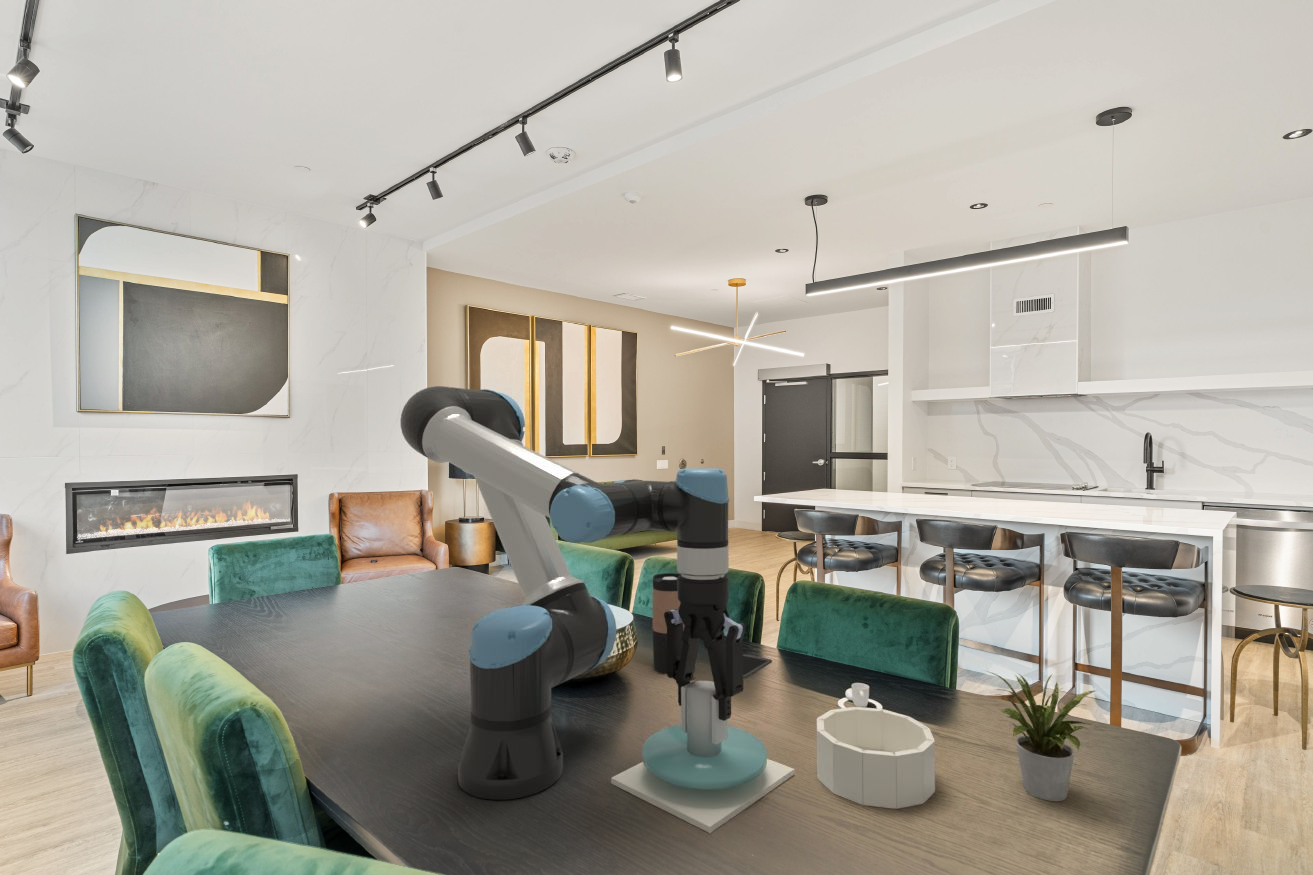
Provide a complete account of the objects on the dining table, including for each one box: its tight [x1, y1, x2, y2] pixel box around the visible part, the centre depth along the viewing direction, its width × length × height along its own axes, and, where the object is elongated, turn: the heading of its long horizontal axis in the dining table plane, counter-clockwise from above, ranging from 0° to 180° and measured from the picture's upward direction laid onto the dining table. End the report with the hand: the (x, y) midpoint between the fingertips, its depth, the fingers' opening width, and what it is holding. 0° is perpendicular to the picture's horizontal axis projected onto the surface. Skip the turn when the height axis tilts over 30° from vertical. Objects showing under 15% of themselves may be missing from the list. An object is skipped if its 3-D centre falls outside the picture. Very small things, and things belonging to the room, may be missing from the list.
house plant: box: [983, 670, 1096, 802], centre depth 93 cm, size 14×14×16 cm
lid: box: [641, 680, 768, 789], centre depth 96 cm, size 18×18×10 cm
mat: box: [610, 758, 795, 834], centre depth 96 cm, size 20×18×1 cm
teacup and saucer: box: [837, 682, 883, 709], centre depth 123 cm, size 9×8×4 cm
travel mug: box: [652, 572, 684, 675], centre depth 143 cm, size 8×8×20 cm
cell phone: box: [743, 653, 773, 679], centre depth 145 cm, size 7×14×1 cm, turn 145°
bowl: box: [816, 706, 936, 810], centre depth 96 cm, size 16×16×7 cm
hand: (704, 734), depth 96 cm, fingers closed on lid, 5 cm apart
